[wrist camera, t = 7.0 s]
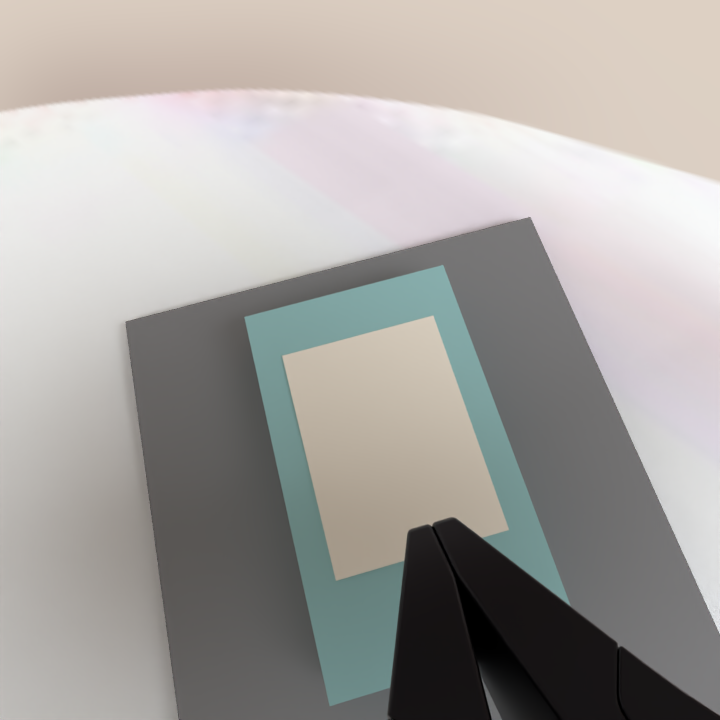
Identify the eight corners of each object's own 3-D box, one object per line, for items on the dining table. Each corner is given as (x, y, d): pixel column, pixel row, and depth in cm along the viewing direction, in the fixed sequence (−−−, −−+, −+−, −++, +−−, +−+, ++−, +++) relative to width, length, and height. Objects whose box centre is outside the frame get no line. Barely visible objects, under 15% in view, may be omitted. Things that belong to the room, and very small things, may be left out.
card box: (580, 629, 12) (443, 263, 16) (329, 707, 12) (243, 315, 15) (555, 619, 14) (436, 292, 17) (335, 687, 14) (257, 340, 17)
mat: (800, 842, 13) (820, 855, 12) (231, 1036, 12) (224, 1060, 11) (525, 227, 19) (530, 217, 18) (133, 329, 18) (125, 321, 17)
